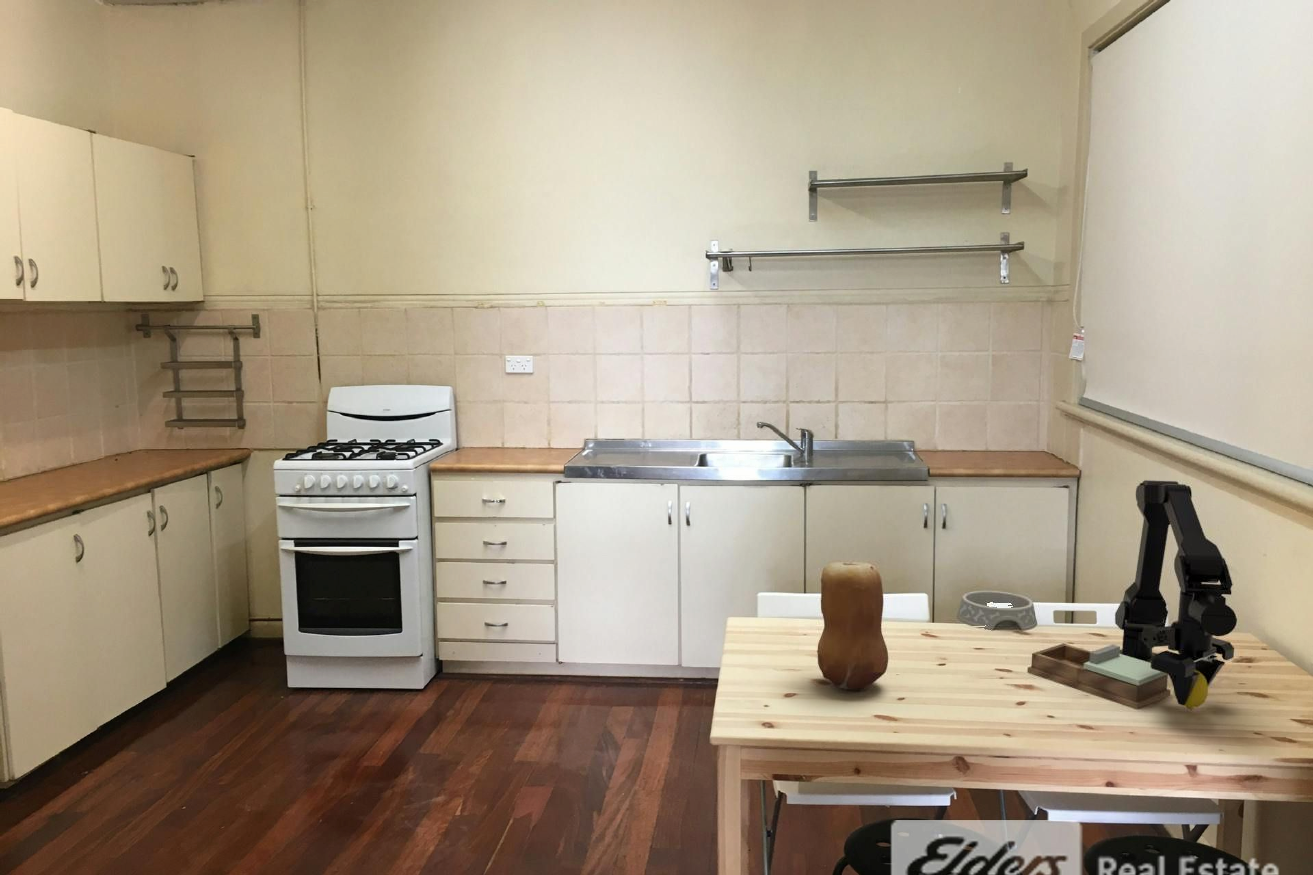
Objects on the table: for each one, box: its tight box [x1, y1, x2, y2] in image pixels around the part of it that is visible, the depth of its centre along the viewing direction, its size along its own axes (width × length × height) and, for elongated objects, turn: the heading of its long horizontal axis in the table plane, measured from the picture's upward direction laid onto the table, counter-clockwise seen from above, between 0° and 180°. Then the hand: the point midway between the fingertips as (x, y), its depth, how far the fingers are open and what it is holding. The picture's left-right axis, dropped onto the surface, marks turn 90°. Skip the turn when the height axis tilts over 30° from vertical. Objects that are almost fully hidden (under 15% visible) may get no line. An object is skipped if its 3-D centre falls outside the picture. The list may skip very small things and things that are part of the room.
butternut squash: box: [816, 561, 889, 692], centre depth 192 cm, size 14×13×25 cm
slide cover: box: [1084, 644, 1168, 686], centre depth 191 cm, size 11×11×3 cm
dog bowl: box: [956, 590, 1038, 632], centre depth 237 cm, size 17×18×5 cm
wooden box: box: [1027, 643, 1172, 710], centre depth 196 cm, size 23×12×4 cm, turn 35°
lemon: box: [1173, 670, 1209, 711], centre depth 182 cm, size 6×6×8 cm
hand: (1189, 700), depth 182 cm, fingers closed on lemon, 5 cm apart
